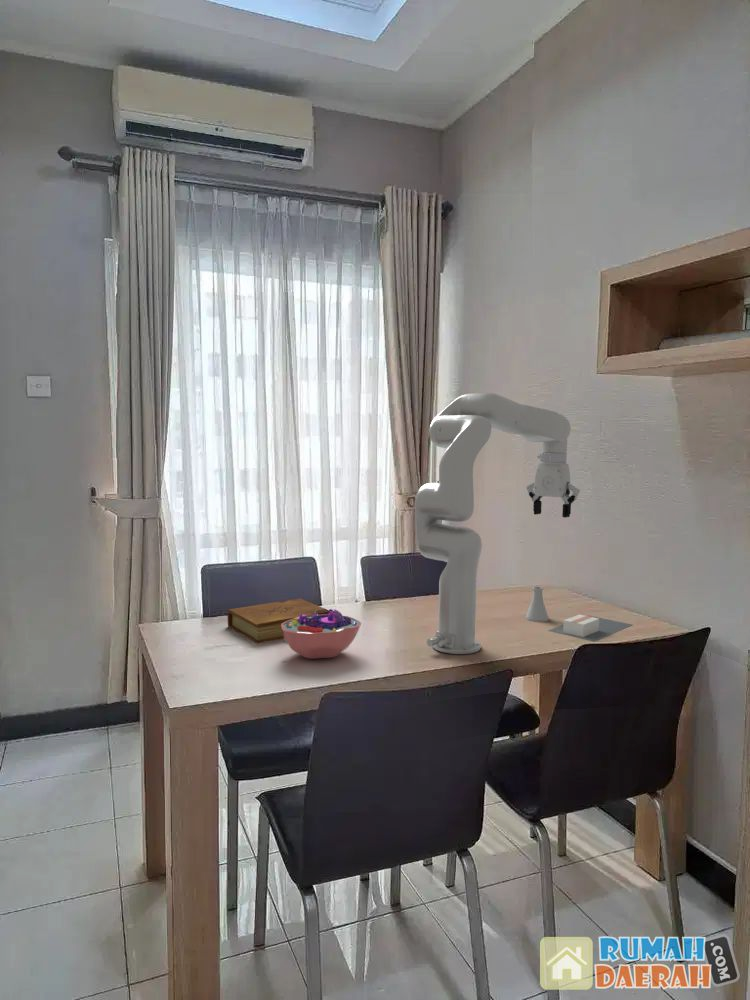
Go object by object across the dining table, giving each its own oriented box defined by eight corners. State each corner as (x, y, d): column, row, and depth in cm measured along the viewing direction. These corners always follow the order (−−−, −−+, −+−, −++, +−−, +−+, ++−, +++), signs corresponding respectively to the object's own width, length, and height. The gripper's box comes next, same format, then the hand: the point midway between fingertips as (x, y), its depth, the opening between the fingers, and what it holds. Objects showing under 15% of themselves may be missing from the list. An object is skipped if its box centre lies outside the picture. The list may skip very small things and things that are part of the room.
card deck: (583, 637, 187) (583, 624, 187) (563, 632, 191) (563, 619, 191) (598, 630, 193) (599, 618, 193) (579, 626, 197) (579, 614, 197)
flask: (547, 617, 209) (548, 585, 208) (550, 624, 202) (552, 590, 201) (523, 616, 209) (524, 584, 208) (525, 623, 202) (527, 589, 201)
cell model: (272, 650, 174) (272, 606, 173) (345, 641, 182) (346, 599, 181) (291, 671, 158) (291, 623, 157) (371, 661, 166) (371, 615, 165)
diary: (298, 616, 207) (298, 597, 207) (331, 631, 192) (331, 611, 192) (227, 628, 194) (227, 608, 194) (256, 644, 179) (256, 623, 178)
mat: (594, 643, 183) (594, 641, 183) (547, 632, 193) (547, 630, 193) (633, 626, 200) (633, 624, 200) (588, 617, 210) (588, 615, 210)
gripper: (521, 458, 208) (520, 514, 210) (573, 460, 196) (571, 519, 198) (535, 457, 214) (533, 512, 215) (586, 459, 202) (584, 517, 203)
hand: (551, 515), depth 207 cm, fingers open, 9 cm apart
